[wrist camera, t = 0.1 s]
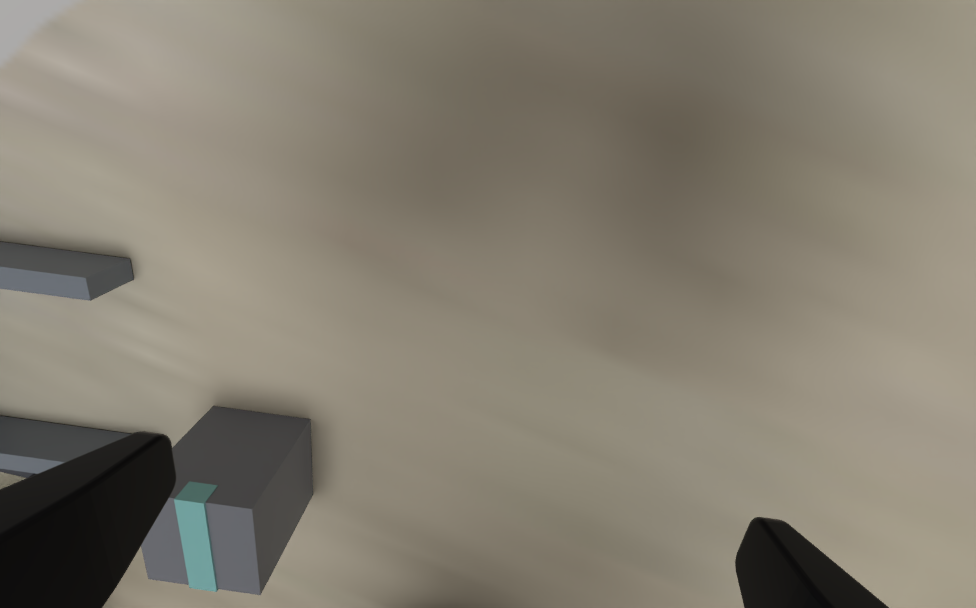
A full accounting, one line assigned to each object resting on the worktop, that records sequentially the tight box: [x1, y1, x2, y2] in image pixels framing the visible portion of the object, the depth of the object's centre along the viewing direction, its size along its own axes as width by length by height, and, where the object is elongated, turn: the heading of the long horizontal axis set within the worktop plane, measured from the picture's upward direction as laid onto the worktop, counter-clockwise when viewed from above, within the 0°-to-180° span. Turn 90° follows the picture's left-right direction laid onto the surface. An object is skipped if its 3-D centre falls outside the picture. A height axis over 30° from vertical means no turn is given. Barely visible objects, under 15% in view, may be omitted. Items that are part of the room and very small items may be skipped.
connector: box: [141, 406, 313, 595], centre depth 24 cm, size 5×5×6 cm
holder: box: [0, 242, 134, 474], centre depth 24 cm, size 11×10×2 cm
